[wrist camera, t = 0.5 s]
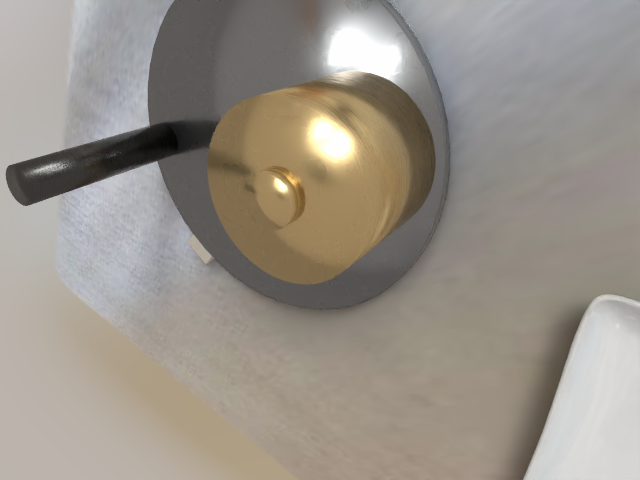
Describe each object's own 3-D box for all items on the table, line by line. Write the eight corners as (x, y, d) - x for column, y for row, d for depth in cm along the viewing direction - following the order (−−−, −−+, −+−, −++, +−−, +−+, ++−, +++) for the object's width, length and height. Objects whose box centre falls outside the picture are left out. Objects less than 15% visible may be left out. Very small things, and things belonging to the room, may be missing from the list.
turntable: (119, 5, 44) (-62, 18, 34) (408, -115, 29) (241, -152, 20) (209, 296, 50) (80, 377, 41) (479, 312, 36) (381, 443, 26)
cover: (276, 86, 37) (169, 115, 30) (418, 54, 31) (326, 82, 24) (312, 233, 40) (222, 290, 33) (449, 229, 34) (374, 298, 27)
